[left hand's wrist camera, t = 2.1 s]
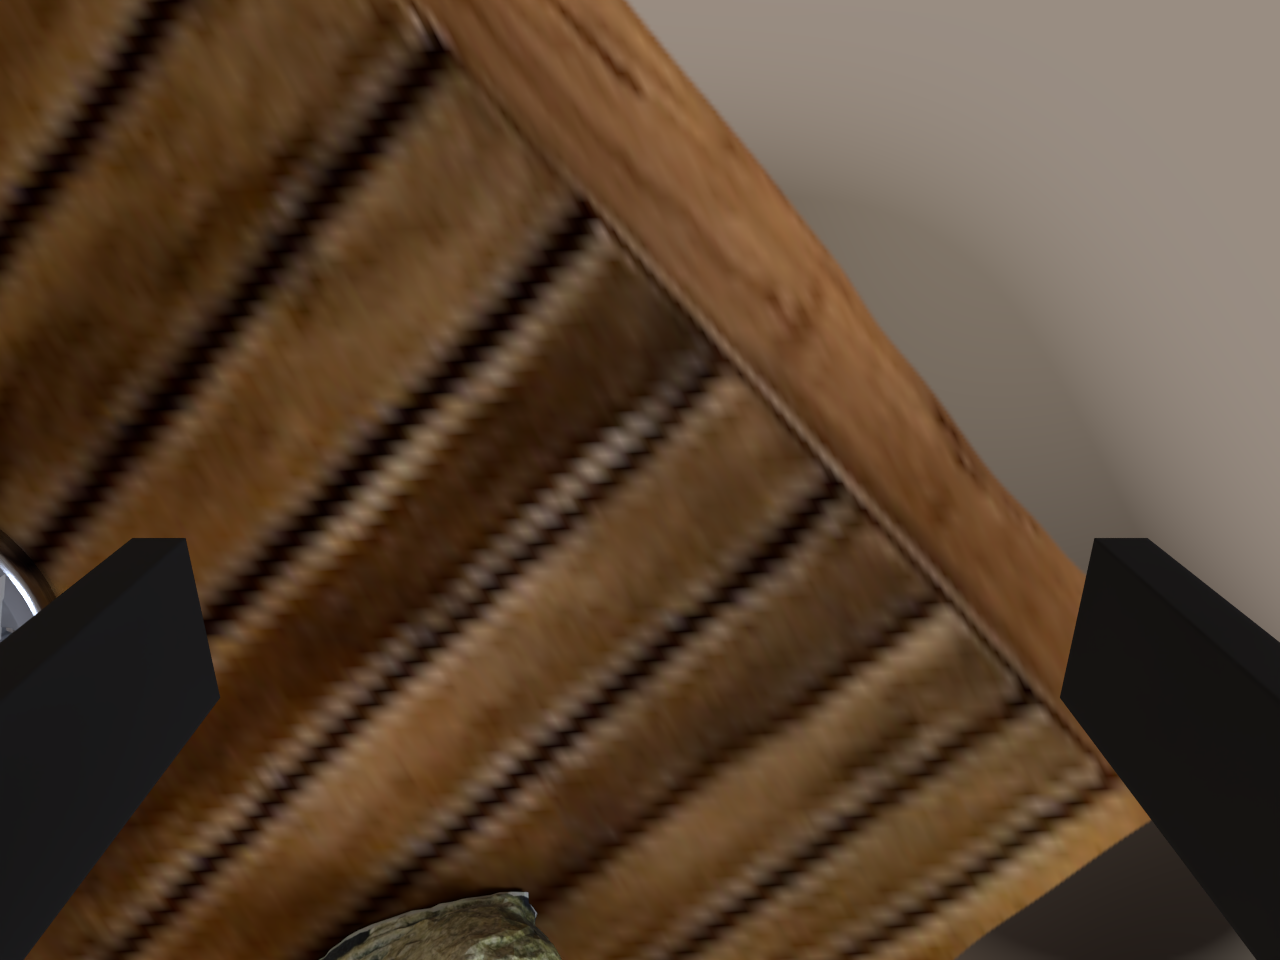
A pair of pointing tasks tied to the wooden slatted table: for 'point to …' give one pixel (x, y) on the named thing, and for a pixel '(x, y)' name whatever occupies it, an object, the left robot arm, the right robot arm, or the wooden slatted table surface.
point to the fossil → (454, 933)
